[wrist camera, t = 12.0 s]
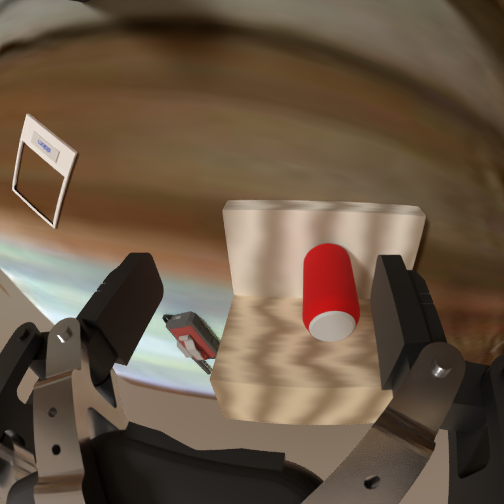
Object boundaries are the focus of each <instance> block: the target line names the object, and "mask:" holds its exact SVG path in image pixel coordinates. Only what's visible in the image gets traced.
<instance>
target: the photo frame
mask: <svg viewBox="0 0 504 504" xmlns="http://www.w3.org/2000/svg"><path fill="white" fill-rule="evenodd" d="M24 142H25V143H26V144H27V145H28V146H29V147H30V148H31V149H32V150H34V151H35V152H36V153H37V154H38V155H39V156H40V157H42V158H43V159H44V160H45V161H46V162H47V163H49V164H50V165H51V166H52V167H53V168H55V169H56V170H57V171H58V172H59V173H61V174H62V175H63V176H64V177H65V178H64V181H63V185H62V188H61V192H60V196H59V200H58V204H57V208H56V212H55V216H54V221H53V225H52V224H51V223H50V222H49V221H48V220H47V219H46V218H45V217H43V216H42V215H41V214H40V213H39V212H38V211H37V210H36V209H35V208H33V207H32V206H31V205H30V204H29V203H28V202H27V201H26V200H25V199H24V198H23V197H22V196H21V195H20V194H19V193H18V192H17V191H16V190H15V189H14V186H15V185H16V181H17V175H18V168H19V163H20V157H21V152H22V147H23V143H24ZM76 155H77V152H76V151H75V150H74V149H73V148H71V147H70V146H69V145H68V144H66V143H65V142H64V141H63V140H61V139H60V138H59V137H57V136H56V135H55V134H54V133H52V132H51V131H50V130H49V129H48V128H46V127H45V126H44V125H43V124H41V123H40V122H39V121H38V120H36V119H35V118H34V117H33V116H31V115H30V114H29V113H28V114H27V115H26V118H25V122H24V126H23V130H22V135H21V139H20V144H19V149H18V154H17V159H16V165H15V172H14V179H13V187H12V190H13V191H14V192H15V193H16V194H17V195H18V196H19V197H20V198H21V199H22V200H23V201H24V202H25V203H26V204H27V205H28V206H30V207H31V208H32V209H33V210H34V211H35V212H36V213H37V214H38V215H39V216H40V217H41V218H43V219H44V220H45V221H46V222H47V223H48V224H49V225H50V226H52V227H53V228H54V229H55V228H56V224H57V220H58V216H59V212H60V208H61V204H62V200H63V196H64V193H65V189H66V186H67V183H68V179H69V176H70V173H71V170H72V167H73V164H74V161H75V158H76Z"/></svg>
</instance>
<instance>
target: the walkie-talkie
mask: <svg viewBox="0 0 504 504" xmlns="http://www.w3.org/2000/svg"><path fill="white" fill-rule="evenodd" d="M166 318H167V319H168V320H167V319H166ZM163 320H164V322H165V323H166V328H167V329H168V330H169V331H170V332H171V333H172V335H173V336H174V337H175V338H176V340H177V347H178V348H179V349H180V350H181V351H182V353H183V354H184V355H185V356H186V358H187V357H191V358H192V359H193V360H194V361H195V362H196V363H197V364H198V365H199V366H200V367H201V368H202V369H203V370H204V371H205V372H206V373H207V374H211V371H210V370H209V369H208V368H207V367H206V366H205V365H204V364H203V363H202V362H201V360H207V359H215V358H216V356H217V352H218V349H219V345H220V344H219V343H218V341H217V340H216V339H215V338H214V336H213V335H212V334H211V333H210V332H209V330H208V329H207V328H206V326H204V324H203V323H202V321H201V320H200V319H199V317H197V315H196V313H193V312H186V313H181V314H177V315H171V316H169V315H166V314H165V315H164V316H163Z"/></svg>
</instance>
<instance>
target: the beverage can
mask: <svg viewBox="0 0 504 504" xmlns="http://www.w3.org/2000/svg"><path fill="white" fill-rule="evenodd" d="M302 319H303V323H304V326H305V327H306V329H307V330H308V332H309V333H310V334H311V335H312V336H313V337H314V338H316V339H318V340H320V341H325V342H334V341H339V340H342V339H344V338H346V337H348V336H349V335H350V334H351V333H352V332H353V331H354V329H355V327H356V326H357V324H358V322H359V319H360V306H359V300H358V295H357V290H356V284H355V279H354V274H353V270H352V265H351V260H350V257H349V254H348V253H347V251H346V250H345V249H344V248H343V247H342V246H340V245H338V244H335V243H322V244H319V245H317V246H315V247H313V248H312V249H311V250H310V251H309V252H308V253H307V254H306V256H305V258H304V262H303V309H302Z"/></svg>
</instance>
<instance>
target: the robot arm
mask: <svg viewBox="0 0 504 504" xmlns="http://www.w3.org/2000/svg"><path fill="white" fill-rule="evenodd" d="M163 291H164V290H163V284H162V281H161V278H160V276H159V273H158V270H157V268H156V265H155V262H154V260H153V257H152V255H151V254H150V253H130V254H129V255H128V256H127V257H126V258H125V259H124V261H123V262H122V263H121V264H120V266H118V267H117V268H116V269H115V270H113V271H112V272H111V273H110V274H109V275H108V276H107V277H106V279H105V280H104V281H103V284H101V285H100V286H99V288H98V289H97V292H95V293H94V294H93V296H92V297H91V298H90V300H89V301H88V302H87V304H86V305H85V306H84V308H83V309H82V311H81V312H80V313H79V315H78V316H77V317H76V319H75V318H66V319H63V320H61V321H59V322H58V323H57V324H56V325H55V326H54V327H53V328H52V329H51V331H50V332H42V333H40V331H39V330H38V329H37V327H36V326H35V324H33V323H31V322H27V323H24V324H23V325H21V326H20V327H18V328H17V330H16V331H15V332H14V333H13V335H12V336H11V338H10V339H9V341H8V343H7V344H6V346H5V347H4V349H3V350H2V352H1V353H0V498H1V499H2V500H3V501H4V502H6V504H399V502H400V501H401V500H402V498H403V497H404V496H405V494H406V493H407V492H408V490H409V489H410V487H411V486H412V485H413V483H414V482H415V480H416V479H417V477H418V476H419V474H420V473H421V471H422V470H423V468H424V467H425V465H426V463H427V462H428V460H429V459H430V457H431V455H432V453H433V451H434V448H435V444H436V443H435V442H434V439H435V437H436V435H437V433H438V431H439V429H444V430H448V439H449V496H448V504H504V355H501V356H499V357H497V358H496V359H495V360H494V361H493V363H492V364H491V365H490V366H488V365H482V364H477V363H472V362H468V361H465V360H464V357H463V355H462V354H461V352H460V351H459V350H458V349H457V348H456V347H454V346H453V345H451V344H448V343H447V340H446V337H445V334H444V331H443V328H442V325H441V322H440V319H439V317H438V314H437V311H436V308H435V306H434V305H433V300H432V298H431V295H429V290H428V288H427V285H426V283H425V280H424V279H423V278H422V277H421V276H420V275H419V274H418V273H417V272H416V271H415V270H407V269H406V266H405V264H404V261H403V259H402V256H401V255H378V257H377V261H376V267H375V272H374V278H373V283H372V288H371V295H370V305H371V312H372V318H373V325H374V331H375V338H376V345H377V352H378V360H379V369H380V379H381V389H382V390H392V393H393V398H392V400H391V401H390V403H389V404H388V406H387V407H386V409H385V410H384V411H383V413H382V414H381V415H380V416H379V418H378V419H377V420H376V422H375V423H374V424H373V426H372V427H371V429H370V430H369V431H368V432H367V434H366V435H365V436H364V437H363V439H362V440H361V441H360V442H359V443H358V445H357V446H356V447H355V448H354V449H353V451H352V452H351V453H350V454H349V455H348V456H347V457H346V459H345V460H344V461H343V462H342V463H341V464H340V465H339V466H338V467H337V469H336V470H335V471H334V472H333V473H332V474H331V475H330V476H329V477H328V478H327V479H326V480H325V481H323V480H322V479H321V478H320V477H318V476H317V475H316V474H314V473H313V472H312V471H309V470H308V469H306V468H305V467H302V466H300V465H297V464H296V463H293V462H290V461H286V460H285V453H280V452H268V451H259V450H250V449H242V448H240V449H225V450H195V449H192V448H190V447H188V446H186V445H184V444H183V443H181V442H179V441H177V440H175V439H173V438H171V437H170V436H168V435H166V434H165V433H163V432H161V431H158V430H154V429H151V428H148V427H144V426H141V425H138V424H135V423H132V422H129V421H128V419H127V418H126V416H125V414H124V410H123V406H122V402H121V398H120V393H119V388H118V384H117V378H116V373H115V371H114V369H113V368H112V367H113V365H114V363H118V364H122V365H126V366H127V364H128V362H129V360H130V358H131V356H132V354H133V353H134V351H135V349H136V347H137V345H138V343H139V341H140V339H141V337H142V335H143V333H144V332H145V330H146V328H147V326H148V324H149V322H150V320H151V319H152V317H153V315H154V313H155V311H156V309H157V308H158V306H159V304H160V302H161V300H162V298H163ZM28 367H30V368H31V369H32V370H33V371H34V372H35V374H36V375H37V376H38V377H39V379H38V381H37V382H36V383H35V385H34V389H33V391H32V393H31V395H30V396H29V399H28V401H27V403H26V404H24V403H23V402H21V401H20V400H19V399H18V396H17V388H18V386H19V384H20V382H21V380H22V378H23V376H24V374H25V373H26V371H27V369H28ZM6 430H7V432H5V431H6ZM36 463H37V464H36Z"/></svg>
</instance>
